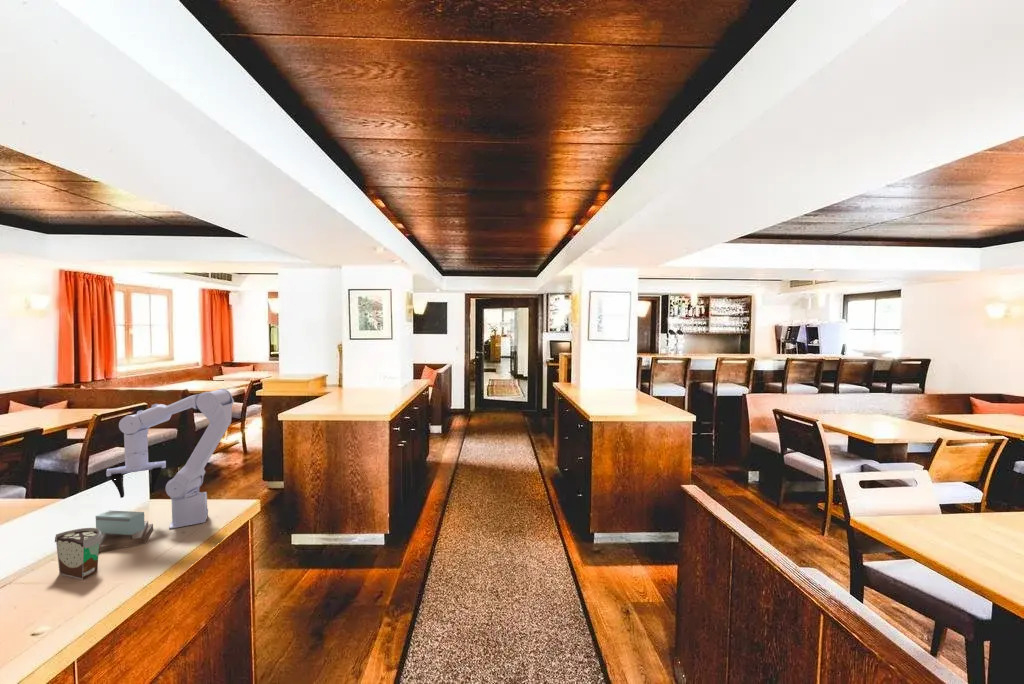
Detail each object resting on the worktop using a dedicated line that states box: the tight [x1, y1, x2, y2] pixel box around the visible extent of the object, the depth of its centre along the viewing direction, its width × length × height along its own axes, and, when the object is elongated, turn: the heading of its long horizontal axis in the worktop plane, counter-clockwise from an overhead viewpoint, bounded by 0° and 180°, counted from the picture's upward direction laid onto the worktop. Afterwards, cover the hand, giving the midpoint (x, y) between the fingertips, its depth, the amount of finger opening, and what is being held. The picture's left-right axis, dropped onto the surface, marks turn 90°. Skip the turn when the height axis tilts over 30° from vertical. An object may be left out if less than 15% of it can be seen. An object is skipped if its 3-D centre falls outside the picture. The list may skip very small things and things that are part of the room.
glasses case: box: [95, 510, 145, 535], centre depth 133 cm, size 12×4×5 cm, turn 81°
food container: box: [54, 527, 103, 580], centre depth 116 cm, size 12×6×10 cm, turn 71°
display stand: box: [99, 520, 154, 553], centre depth 133 cm, size 13×12×3 cm
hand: (138, 494), depth 145 cm, fingers open, 7 cm apart
